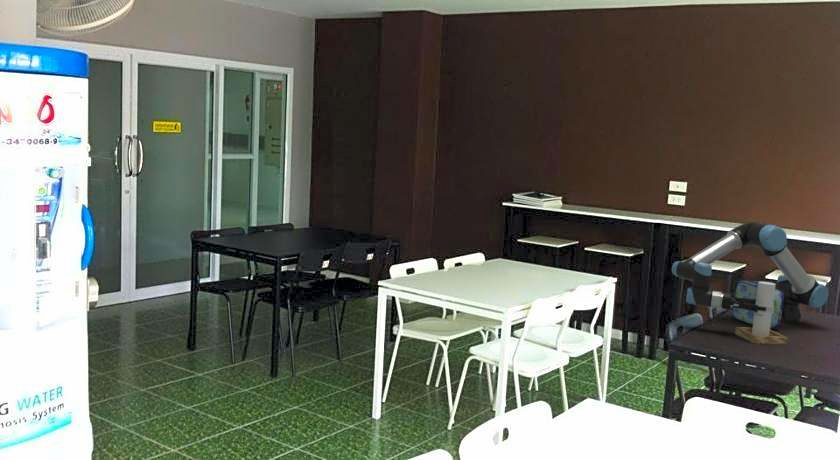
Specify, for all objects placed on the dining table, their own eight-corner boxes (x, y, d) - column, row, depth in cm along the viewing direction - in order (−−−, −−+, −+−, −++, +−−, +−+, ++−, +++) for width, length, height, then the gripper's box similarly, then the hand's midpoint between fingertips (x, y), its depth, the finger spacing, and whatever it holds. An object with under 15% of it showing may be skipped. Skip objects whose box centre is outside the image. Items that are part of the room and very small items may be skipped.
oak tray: (767, 335, 377) (768, 328, 377) (786, 344, 361) (787, 337, 361) (734, 333, 375) (735, 326, 375) (752, 343, 359) (753, 336, 359)
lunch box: (783, 331, 387) (789, 288, 385) (764, 331, 384) (770, 287, 382) (747, 318, 412) (752, 277, 409) (729, 317, 409) (734, 276, 406)
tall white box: (769, 340, 364) (776, 285, 361) (752, 338, 365) (759, 283, 362) (767, 336, 371) (774, 282, 367) (750, 334, 372) (757, 280, 369)
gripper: (722, 303, 384) (772, 311, 376) (719, 313, 362) (773, 321, 354) (724, 288, 383) (774, 295, 375) (721, 296, 361) (775, 304, 353)
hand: (773, 307), depth 365 cm, fingers open, 11 cm apart
